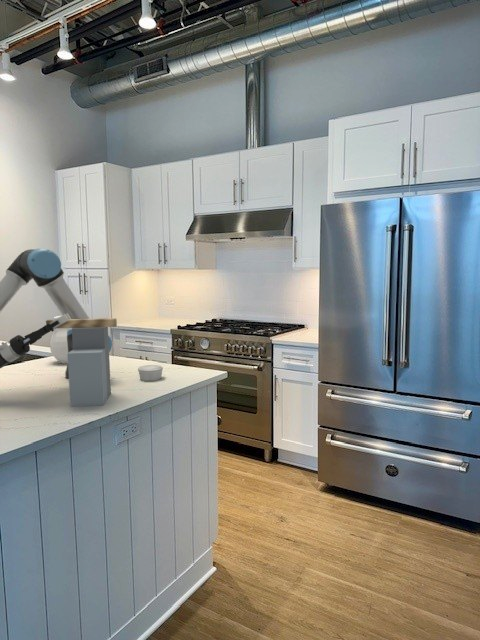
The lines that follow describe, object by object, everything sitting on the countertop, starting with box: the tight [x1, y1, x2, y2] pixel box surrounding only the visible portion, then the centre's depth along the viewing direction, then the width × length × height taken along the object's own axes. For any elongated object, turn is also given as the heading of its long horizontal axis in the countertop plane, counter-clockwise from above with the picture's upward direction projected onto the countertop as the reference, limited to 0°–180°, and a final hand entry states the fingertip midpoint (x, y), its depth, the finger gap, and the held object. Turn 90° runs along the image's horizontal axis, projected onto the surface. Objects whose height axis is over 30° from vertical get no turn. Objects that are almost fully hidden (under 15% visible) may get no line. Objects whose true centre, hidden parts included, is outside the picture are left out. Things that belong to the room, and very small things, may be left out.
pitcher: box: [49, 315, 72, 365], centre depth 248 cm, size 19×18×25 cm
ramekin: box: [137, 364, 163, 382], centre depth 211 cm, size 11×11×5 cm
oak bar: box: [45, 317, 118, 329], centre depth 180 cm, size 26×3×3 cm, turn 96°
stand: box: [67, 327, 112, 407], centre depth 178 cm, size 12×16×28 cm
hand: (67, 316), depth 179 cm, fingers closed on oak bar, 3 cm apart
